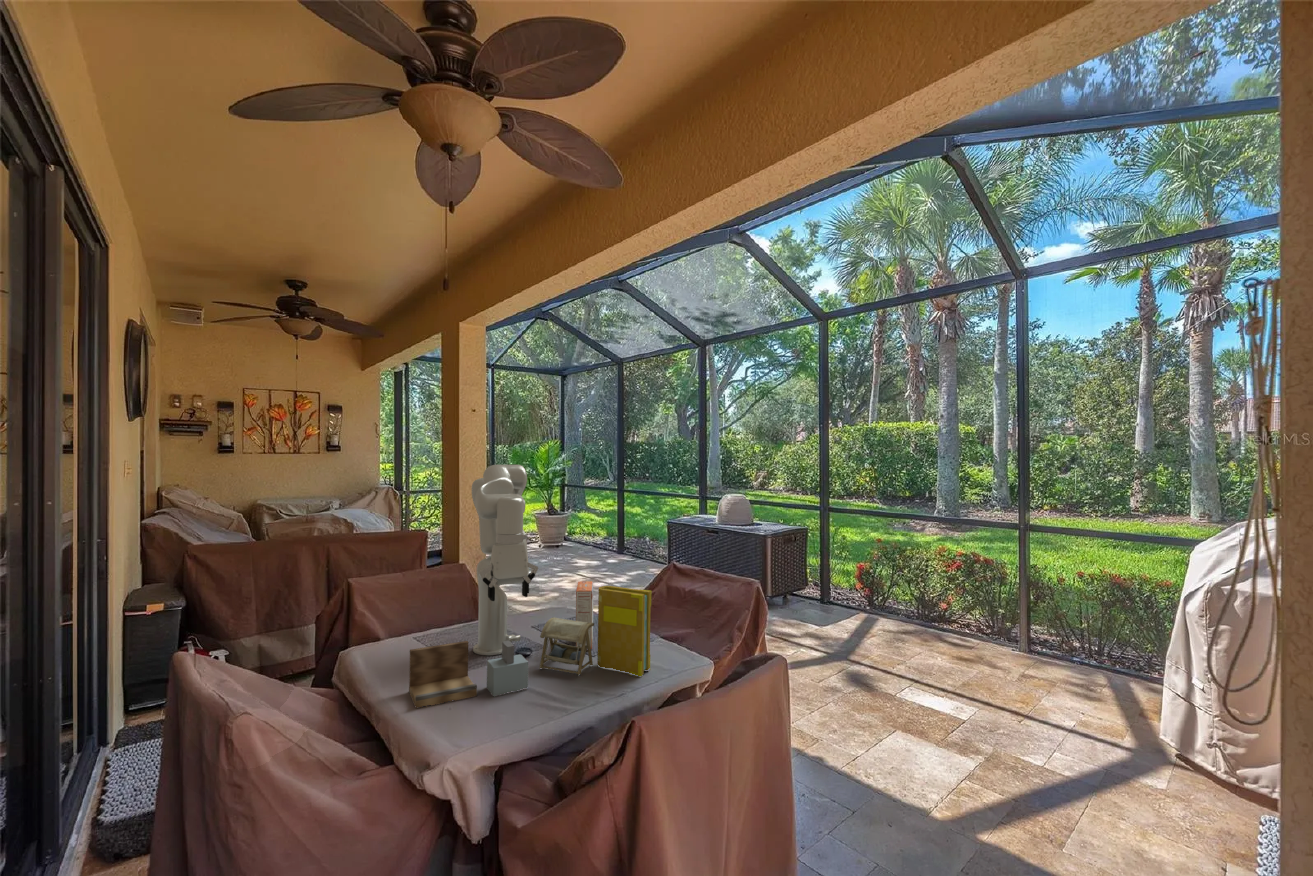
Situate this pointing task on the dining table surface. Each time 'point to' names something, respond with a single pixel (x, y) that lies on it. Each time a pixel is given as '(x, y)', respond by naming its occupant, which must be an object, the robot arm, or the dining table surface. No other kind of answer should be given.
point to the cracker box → (585, 606)
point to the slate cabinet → (507, 671)
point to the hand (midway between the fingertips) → (508, 598)
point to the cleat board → (440, 674)
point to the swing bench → (566, 653)
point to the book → (624, 629)
